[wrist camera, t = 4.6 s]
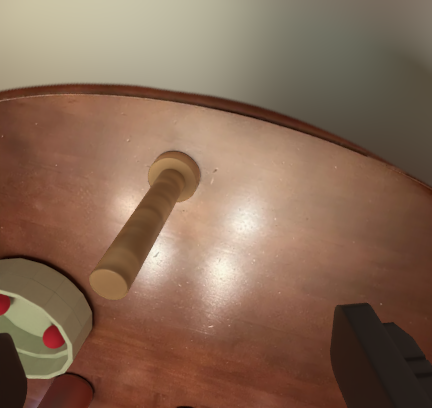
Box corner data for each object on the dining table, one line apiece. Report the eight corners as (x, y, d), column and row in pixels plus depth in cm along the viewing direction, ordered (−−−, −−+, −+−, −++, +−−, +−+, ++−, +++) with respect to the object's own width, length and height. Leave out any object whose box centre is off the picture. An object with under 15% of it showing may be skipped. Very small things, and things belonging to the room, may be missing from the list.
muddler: (143, 165, 36) (58, 272, 23) (180, 142, 34) (109, 243, 21) (172, 202, 37) (107, 321, 25) (209, 181, 36) (159, 298, 23)
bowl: (-37, 281, 49) (-72, 313, 44) (33, 237, 43) (0, 269, 38) (44, 353, 54) (20, 389, 49) (117, 322, 48) (97, 360, 43)
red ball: (46, 323, 49) (33, 341, 47) (60, 316, 48) (47, 334, 46) (61, 338, 50) (49, 356, 48) (76, 331, 49) (64, 350, 47)
